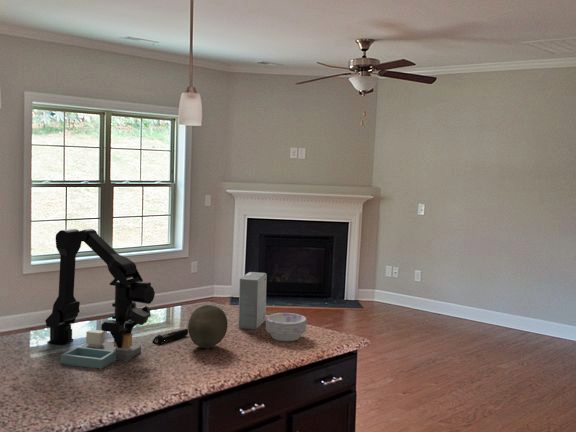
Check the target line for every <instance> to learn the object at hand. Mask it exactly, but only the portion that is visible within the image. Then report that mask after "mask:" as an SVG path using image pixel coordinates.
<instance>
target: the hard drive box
mask: <svg viewBox="0 0 576 432" xmlns="http://www.w3.org/2000/svg"><path fill="white" fill-rule="evenodd" d="M267 280H268V279H267V273H266V272H257V271H256V272H255V271H249V272H247V273H246V274H245V275H243V276H242V277H240V279H239V287H238V288H239V292H238V294H239V295H238V299H239V300H238V322H237V323H238V324H237V325H238V326H237V327H238V329H243V330H244V329H246V330H255V331H256V330H257V329H259V328H260V326H261V325H262V324H263V323H265V322H266V317H267Z"/></svg>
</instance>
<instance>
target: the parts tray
mask: <svg viewBox="0 0 576 432" xmlns="http://www.w3.org/2000/svg"><path fill="white" fill-rule="evenodd" d="M60 355H61V356H60V358H61V359H60V361H61V362H60V365H65V366H66V365H67V366H73V367H82V368H90V369H97V368H99V369H98V370H103V369H105V368H106V367H108V366H110V365H111V364H113V363H114V362H116V361H117V360H116V351H111V350H102V349H94V348H85V347H81V346H75V347H74V348H71V349H69V350H68V351H65V352H64V353H62V354H60ZM115 360H116V361H115ZM110 363H111V364H110ZM107 365H108V366H107ZM105 366H106V367H105ZM104 367H105V368H104ZM102 368H103V369H102Z"/></svg>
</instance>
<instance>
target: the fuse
mask: <svg viewBox="0 0 576 432" xmlns="http://www.w3.org/2000/svg"><path fill="white" fill-rule="evenodd" d="M105 332H106V331H102V330H101V329H99V330H98V329H89V330H87V331H86V337H85V339H86V341H85V344H88V347H97V348H100V347H102V344H103V343H105V342H106V340H105V336H106V333H105Z"/></svg>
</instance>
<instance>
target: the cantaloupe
mask: <svg viewBox="0 0 576 432" xmlns="http://www.w3.org/2000/svg"><path fill="white" fill-rule="evenodd" d="M187 329H188V335H189V338H190V339H191V342H192V343H193V344H195V346H197V347H199V348H201V349H211V348H213V347H215V346H216V345H218V344H220V343H221V342H222V340H224V337H226V334H227V331H228V319H227V315H226V313H225V311H224V310H223V309H221V308H220V307H218V306H216V305H212V304H205V305H202V306H200V307H197V308H196V309H195V310H194V311H193V312H192V313H191V315H190V317H189V320H188V325H187Z"/></svg>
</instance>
